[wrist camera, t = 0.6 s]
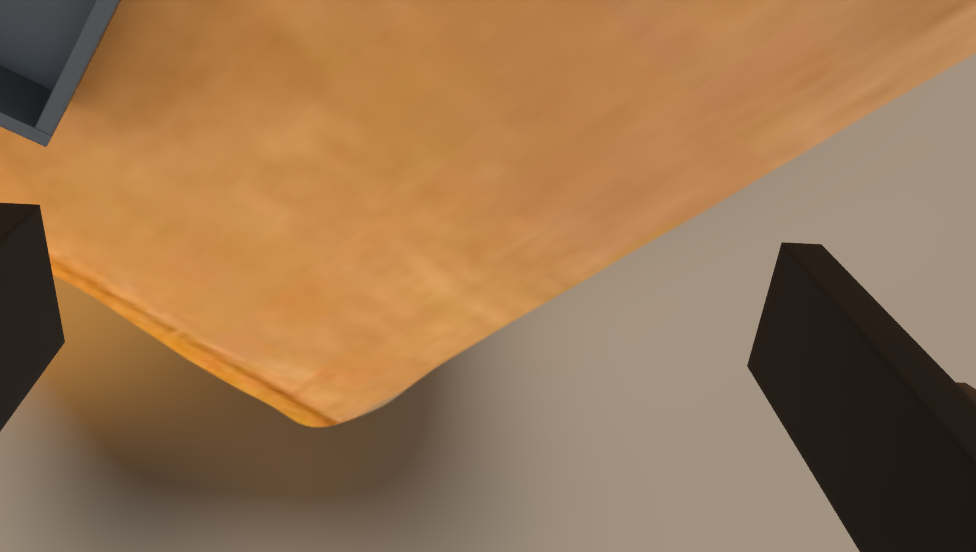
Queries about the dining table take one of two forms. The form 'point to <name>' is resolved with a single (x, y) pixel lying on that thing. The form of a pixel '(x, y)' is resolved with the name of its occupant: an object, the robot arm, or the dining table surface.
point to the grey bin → (45, 59)
